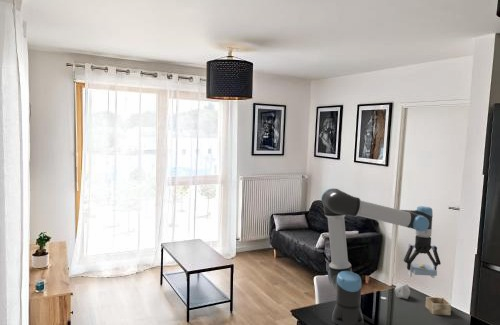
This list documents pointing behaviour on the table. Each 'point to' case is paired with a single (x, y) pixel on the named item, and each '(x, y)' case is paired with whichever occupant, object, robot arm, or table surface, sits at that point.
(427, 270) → the lid
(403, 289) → the grey faceted lump
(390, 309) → the table surface
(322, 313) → the table surface
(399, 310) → the table surface
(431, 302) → the box
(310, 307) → the table surface
